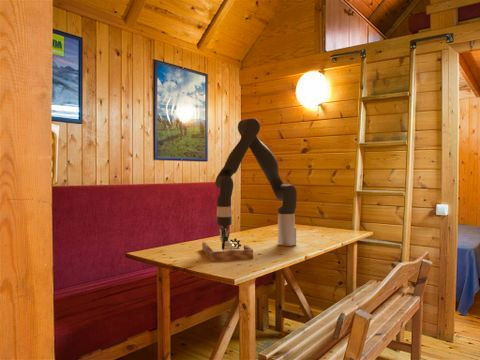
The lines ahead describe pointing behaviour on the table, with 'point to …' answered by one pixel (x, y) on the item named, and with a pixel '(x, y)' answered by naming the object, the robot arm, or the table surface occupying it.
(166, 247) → the table surface
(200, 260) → the table surface
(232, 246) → the valve
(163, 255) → the table surface
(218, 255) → the rack
